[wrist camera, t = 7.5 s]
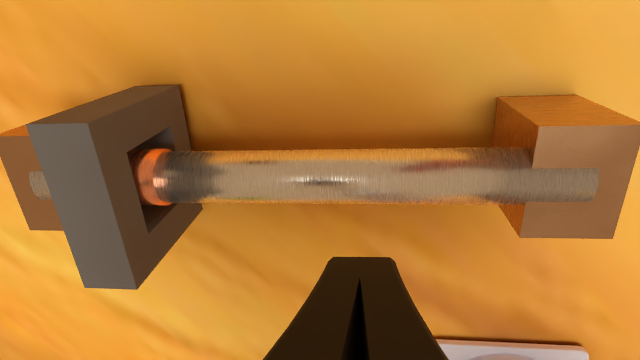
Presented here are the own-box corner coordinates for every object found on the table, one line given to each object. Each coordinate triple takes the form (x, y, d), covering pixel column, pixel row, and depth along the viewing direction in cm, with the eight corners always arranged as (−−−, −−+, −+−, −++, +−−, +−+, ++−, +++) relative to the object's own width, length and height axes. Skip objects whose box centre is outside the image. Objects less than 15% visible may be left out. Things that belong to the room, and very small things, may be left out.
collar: (178, 84, 17) (87, 123, 11) (202, 208, 19) (136, 289, 14) (135, 86, 17) (25, 124, 12) (164, 208, 19) (84, 287, 14)
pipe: (576, 94, 16) (652, 127, 11) (557, 186, 17) (617, 243, 13) (72, 108, 18) (-16, 138, 14) (96, 186, 20) (23, 233, 16)
